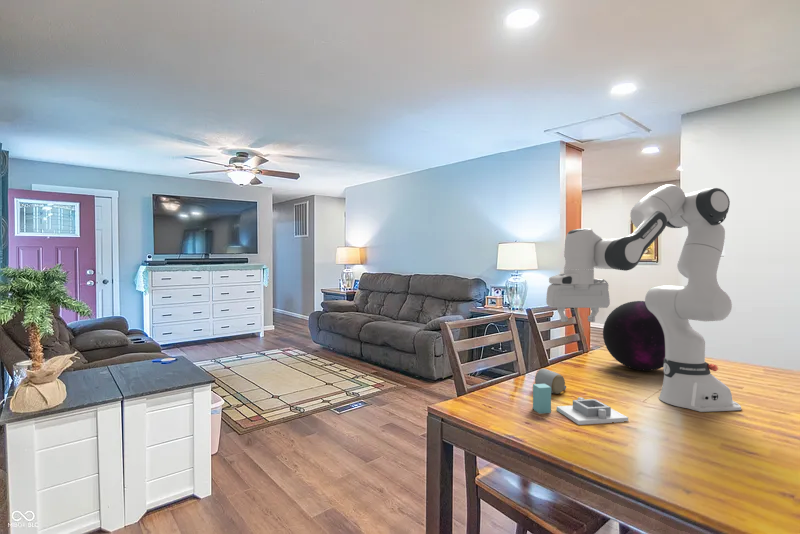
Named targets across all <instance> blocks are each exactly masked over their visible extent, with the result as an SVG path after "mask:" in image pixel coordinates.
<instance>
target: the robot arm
mask: <svg viewBox="0 0 800 534" xmlns="http://www.w3.org/2000/svg"><path fill="white" fill-rule="evenodd" d="M730 202H731V201H730V198H729V196H728V194H727V193H726V192H725V190H723V189H721V188H718V187H708V188H703V189H701V190H697V191H692V192H689V193H685V192H684V190H683V189H682V188H681V187H679V186H678V185H675V184H669V183H668V184H664V185H661V186H659V187H657V188H656V189H654V190H652V191H650V192H649V193H648V194H646V195H645V196H643V197H642V198H640V199H639V201H638V202H637V203H635V204H634V205H633V207H632V209H631V210H630V221H631V222H632V225H634V227H635V230H633V232H632V233H631V234H629V235H627V236H622V237H617V238H616V237H615V238H603V237H601V236H599V235H598V234H596V233H595V232H594V231H593V229H592V228H589V227H583V228H577V229H572V230H570V231H568V232H567V234H566V236H565V240H564V251H563V252H564V254H563V255H564V261H565V265H564V267H563V272H561V273H558V274H555V275H553V276H552V275H551V276H549V279H548V282H549V286H547V291H546V301H545V303H546V305H547V307H550V308H554V309H555V308H557V313H558V314H559V316H560V322H562V323H567V322H568V320H569V319H568V317H569V316H566V315H565V313H564V312H565V311H566V308H567V309H568V308H569V309H570V308H572V309H573V308H575V309H576V308H577V309H580V308H581V309H588V308H589V309H590V311H591V312H590V315H587V322H590V323H595V322H596V316H597V315H598V313H599V312H600V311H599V310H600V308H601V309H605V308H606V309H607V308H608V307H609V306H610V305H611V304H610V302H611V301H610V300H611V299H610V292H609V282H608V281H607V280H605V279H603V278H595V269H599V270H600V269H601V270H602V269H604V270H618V271H626V272H627V271H630V270H633V269H634V268H636V267H637V265H638V264H639V263H640V261H641V260H642V257H643V255H644V254H645V252H646V251H647V250H648V249H649V247H650V246H651V245H652V244H653V243H654V242H655V240H657V239H658V237H659V236H660V235H661V234H662V233H663V231H665V228H666V227H667V228H670V229H681V228H683V227H687V232H688V233H687V237H685V238H686V239H685V240H684V244H683V247H682V250H681V252H680V255H679V258H678V261H677V267H676V268H677V270H678V272H679V273H680V274H681V275H682V276H683V277H684V278H687V279H688V280H687V284H686V285H683V286H682V285H668V284H667V285H659V286H654V287H651V288H649V290H648V291H646V294H645V297H644V301H645V304H646V307H647V309H648V310H649V311H650V312H651V313H652V314H653V315H654V316H655V317H656V318H657V319H658V321H659V323H660V325H661V327H662V329H663V332H664V337H665V358H664V363H663V367H662V368H663V380H662V387H661V390H660V394H659V395H658V399H659V400H660V401H661V402H663V403H666V404H668V405H672V406H675V407H679V408H683V409H684V408H685V409H689V410H693V411H696V412H699V413H700V412H701V413H705V412H706V413H708V412H709V413H710V412H726V411H728V412H730V411H731V412H732V411H741V410H742V406H741V405H740V404H739V403H738V402H736V400H735V401H734V400H733V394H732V392H731V391H732V390H731V389H730V387H729V386H727V385H726V384H725V383H724V382H722V381H721V380H719V379H718V378H717V377H715V375H713V374H712V373H711V371H713V372H717V371H718V370H719V367H718V365H716V364H714V363H708V362H706V340H705V338H704V336H703V335H702V334H701V333H700V332H697V331H696V330H695V329H693V326H691V323H690V321H689V320H692V321H700V322H718V321H719V322H721V321H724V320H726V319H727V318H728V317H729V315H730V314H731V312H732V307H733V306H732V305H733V303H732V300H731V298H730V296H729V294H728V293H727V292H726V291H724V290H723V289H722V288H721V285H719V283H718V278H717V273H718V269H719V265H720V260H721V257H722V254H723V250H724V245H725V239H726V231H725V230H726V229H725V227H724V226H723V225H722V223H723V222H724V221H725V219H726V218H727V214H728V213H729V209H730Z"/></svg>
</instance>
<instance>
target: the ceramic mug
mask: <svg viewBox="0 0 800 534" xmlns="http://www.w3.org/2000/svg"><path fill="white" fill-rule="evenodd" d="M534 384H546V385H548V386H550V387H551V394H555V395H558V394H561V393H562V392H563V391H566V388H567V386H566V379H565V377H564V376H563V375H561V374H560V373H558V372H555V371H553V370H550V369H548V368H544V367H543V368H540V369H538V371H537V372H536V374H535V378H534Z"/></svg>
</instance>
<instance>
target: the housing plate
mask: <svg viewBox="0 0 800 534" xmlns="http://www.w3.org/2000/svg"><path fill="white" fill-rule="evenodd" d="M556 411H557V412H559V413H560V414H561V415H563V416H565V417H566V418H568V419H569V420H571V421H573V422H574V423H575V424H577V425H578V426H580V425H595V424H598V425H599V424H613V423H612V422H614V423H625V422H624V421H628V422H629V417H628V416H626V415H625V414H622V413H620V412H619V411H617V410H616V409H614V408H612V407H611V406H609V405H607V404H605V403H603V402H601V401H599V400H597V399H596V398H589V399H585V397H582V396H581V397H580V396H579V397H577V399H572V405H559V406H558V405H557V406H556Z"/></svg>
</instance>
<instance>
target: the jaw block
mask: <svg viewBox="0 0 800 534" xmlns="http://www.w3.org/2000/svg"><path fill="white" fill-rule="evenodd" d="M533 409H534V410H533ZM532 410H533V411H535V412H536V413H538V414H541V415H542V414H551V413H552V393H551V387H550V386H548V385H546V384H535V383H534V384H532Z"/></svg>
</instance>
